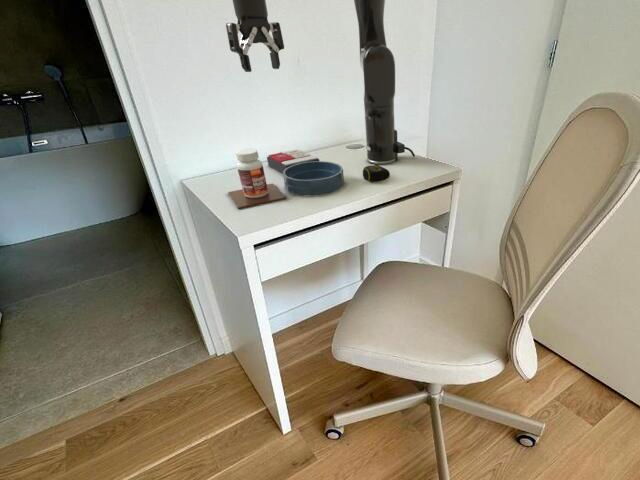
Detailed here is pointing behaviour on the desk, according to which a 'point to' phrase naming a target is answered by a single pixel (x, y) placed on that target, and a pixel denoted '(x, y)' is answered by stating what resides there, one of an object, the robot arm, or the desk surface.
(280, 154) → the calculator
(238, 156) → the pill bottle
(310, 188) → the bowl
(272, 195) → the coaster
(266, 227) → the desk surface
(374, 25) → the robot arm
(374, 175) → the tape measure
